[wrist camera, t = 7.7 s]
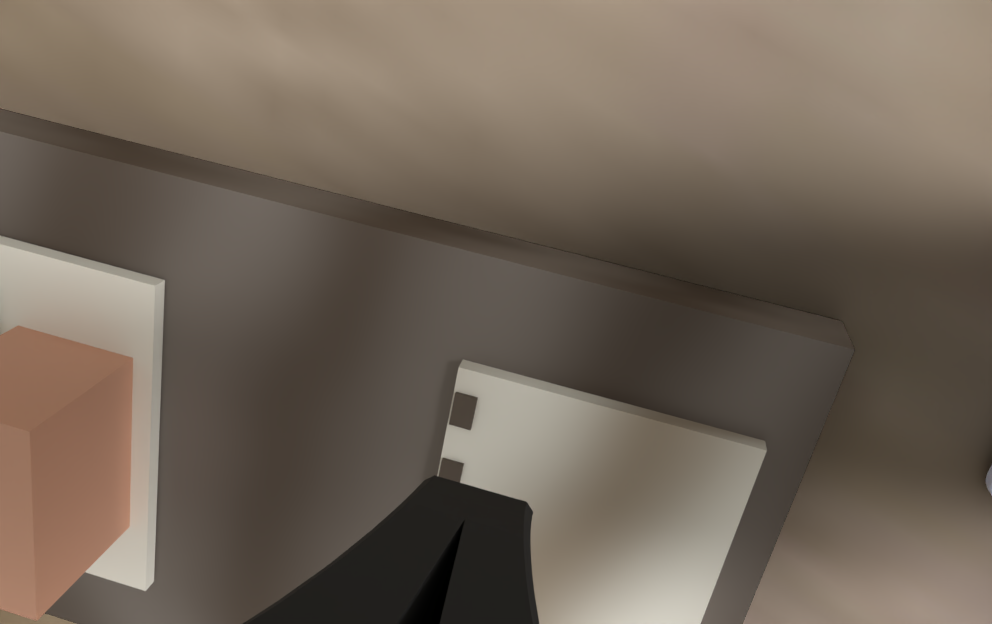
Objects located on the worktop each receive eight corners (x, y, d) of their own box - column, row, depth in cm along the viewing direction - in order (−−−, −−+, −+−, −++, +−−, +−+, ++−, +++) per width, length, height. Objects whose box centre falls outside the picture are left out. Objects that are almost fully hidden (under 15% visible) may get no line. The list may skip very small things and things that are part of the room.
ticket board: (842, 321, 18) (859, 360, 17) (666, 764, 24) (664, 829, 22) (-69, 91, 21) (-141, 103, 19) (-34, 543, 26) (-87, 586, 25)
